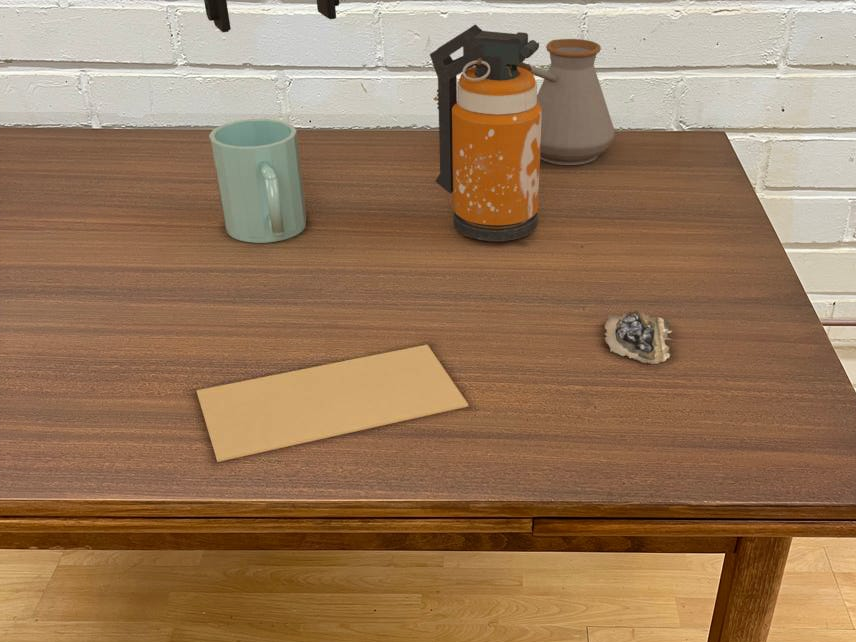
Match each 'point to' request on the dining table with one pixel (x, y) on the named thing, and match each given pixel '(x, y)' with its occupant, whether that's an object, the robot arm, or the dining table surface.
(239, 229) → the teal coffee mug
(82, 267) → the dining table surface
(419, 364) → the mat
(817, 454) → the dining table surface
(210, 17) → the robot arm
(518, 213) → the canister
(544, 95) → the coffee pot
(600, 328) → the dining table surface
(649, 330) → the mineral specimen
